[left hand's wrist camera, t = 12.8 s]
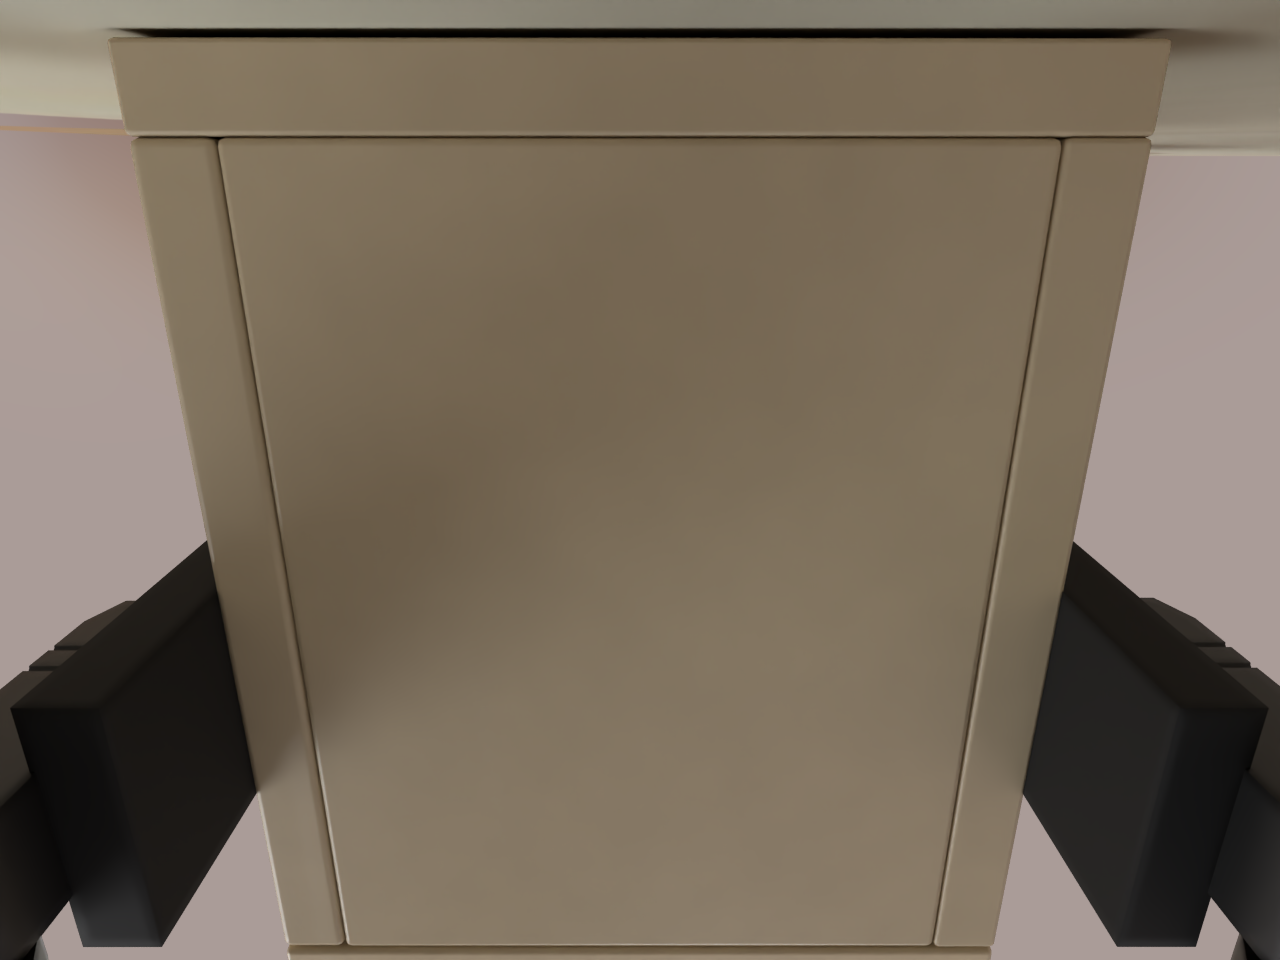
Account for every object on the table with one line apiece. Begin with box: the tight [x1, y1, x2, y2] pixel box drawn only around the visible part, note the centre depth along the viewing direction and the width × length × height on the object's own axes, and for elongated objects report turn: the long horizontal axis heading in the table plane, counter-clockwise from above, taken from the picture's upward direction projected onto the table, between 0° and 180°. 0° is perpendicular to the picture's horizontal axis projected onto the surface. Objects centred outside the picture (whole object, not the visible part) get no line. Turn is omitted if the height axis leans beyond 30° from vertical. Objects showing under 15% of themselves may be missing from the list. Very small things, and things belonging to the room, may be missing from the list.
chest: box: [108, 37, 1171, 946], centre depth 15 cm, size 13×9×10 cm
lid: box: [287, 939, 991, 960], centre depth 19 cm, size 13×9×9 cm
